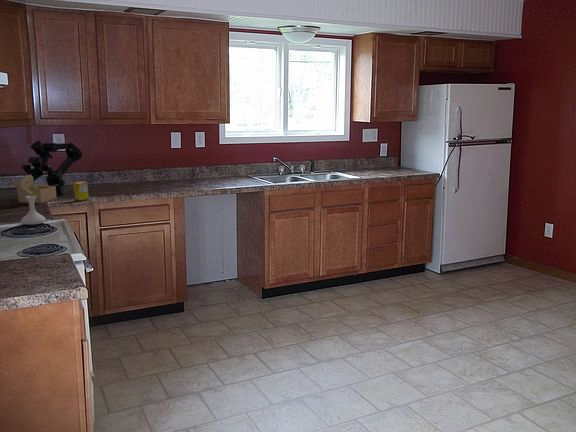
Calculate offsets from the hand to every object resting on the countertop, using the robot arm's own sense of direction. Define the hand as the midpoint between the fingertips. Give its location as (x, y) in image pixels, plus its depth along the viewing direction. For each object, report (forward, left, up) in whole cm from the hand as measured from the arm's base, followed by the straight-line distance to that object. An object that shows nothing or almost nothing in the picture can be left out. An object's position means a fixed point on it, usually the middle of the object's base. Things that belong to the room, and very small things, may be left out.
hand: (31, 181), depth 332 cm
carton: (-3, -1, -12) cm, 13 cm away
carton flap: (+6, +2, -1) cm, 6 cm away
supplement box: (-18, +20, -13) cm, 30 cm away
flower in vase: (+35, +52, -13) cm, 64 cm away
